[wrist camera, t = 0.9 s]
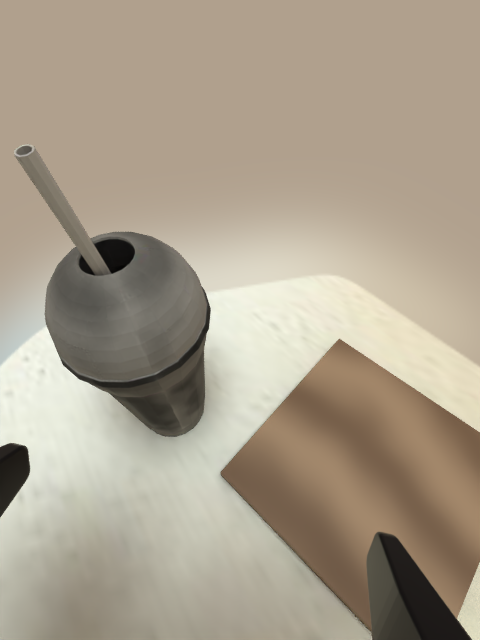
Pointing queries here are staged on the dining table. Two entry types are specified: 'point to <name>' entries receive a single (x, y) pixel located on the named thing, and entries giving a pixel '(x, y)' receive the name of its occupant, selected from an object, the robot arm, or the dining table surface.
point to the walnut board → (366, 478)
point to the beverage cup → (126, 315)
